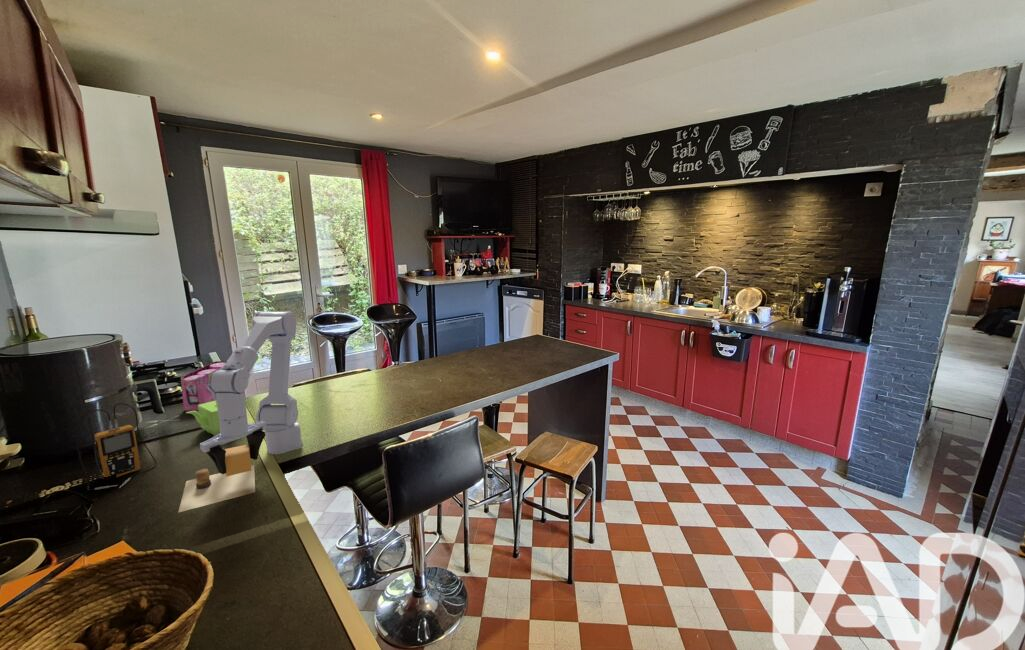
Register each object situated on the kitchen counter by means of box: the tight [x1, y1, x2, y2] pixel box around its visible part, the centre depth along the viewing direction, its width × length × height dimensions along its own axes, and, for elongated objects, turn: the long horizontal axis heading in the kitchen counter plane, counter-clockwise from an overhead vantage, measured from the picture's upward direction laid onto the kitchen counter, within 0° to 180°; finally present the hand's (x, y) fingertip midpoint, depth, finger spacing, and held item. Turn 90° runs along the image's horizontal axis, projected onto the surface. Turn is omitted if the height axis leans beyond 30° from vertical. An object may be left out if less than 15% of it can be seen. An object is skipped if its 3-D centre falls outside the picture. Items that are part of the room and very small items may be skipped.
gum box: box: [180, 360, 227, 412], centre depth 160 cm, size 24×8×14 cm, turn 8°
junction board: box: [177, 464, 256, 514], centre depth 101 cm, size 15×15×6 cm
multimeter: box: [76, 402, 158, 491], centre depth 105 cm, size 15×10×20 cm
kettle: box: [185, 399, 248, 437], centre depth 134 cm, size 15×14×11 cm
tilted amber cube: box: [224, 443, 252, 477], centre depth 100 cm, size 5×5×5 cm
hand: (238, 465), depth 101 cm, fingers closed on tilted amber cube, 7 cm apart
